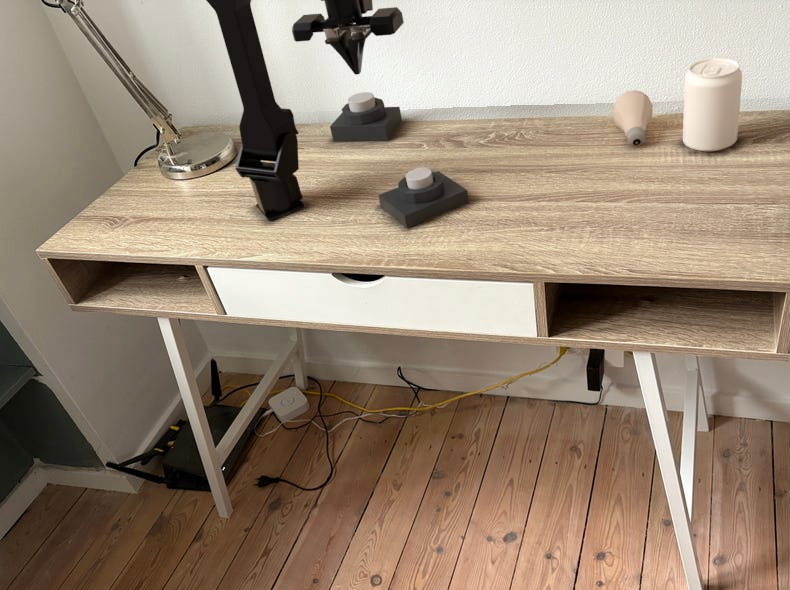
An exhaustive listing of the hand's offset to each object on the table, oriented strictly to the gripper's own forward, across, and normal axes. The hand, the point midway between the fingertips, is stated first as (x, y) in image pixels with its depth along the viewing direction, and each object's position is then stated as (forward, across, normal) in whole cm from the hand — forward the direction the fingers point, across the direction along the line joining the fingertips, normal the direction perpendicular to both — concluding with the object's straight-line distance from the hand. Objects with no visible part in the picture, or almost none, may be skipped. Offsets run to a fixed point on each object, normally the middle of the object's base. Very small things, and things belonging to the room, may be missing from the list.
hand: (358, 73), depth 146 cm
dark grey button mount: (+11, +1, 0) cm, 11 cm away
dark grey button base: (+11, -19, +27) cm, 34 cm away
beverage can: (+12, -60, +7) cm, 62 cm away
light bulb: (+12, -48, +4) cm, 50 cm away
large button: (+7, +1, -1) cm, 7 cm away
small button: (+7, -19, +27) cm, 33 cm away
